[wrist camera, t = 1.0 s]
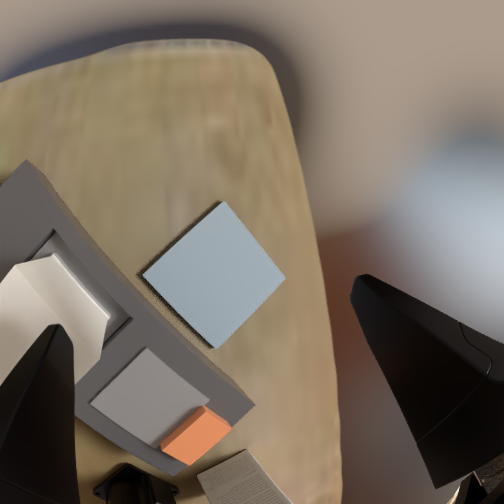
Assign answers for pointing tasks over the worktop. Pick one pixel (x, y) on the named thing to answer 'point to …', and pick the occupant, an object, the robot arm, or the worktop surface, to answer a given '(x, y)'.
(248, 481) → the skincare box
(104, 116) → the worktop surface
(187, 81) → the worktop surface
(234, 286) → the mat
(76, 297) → the block
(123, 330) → the gray recessed block
